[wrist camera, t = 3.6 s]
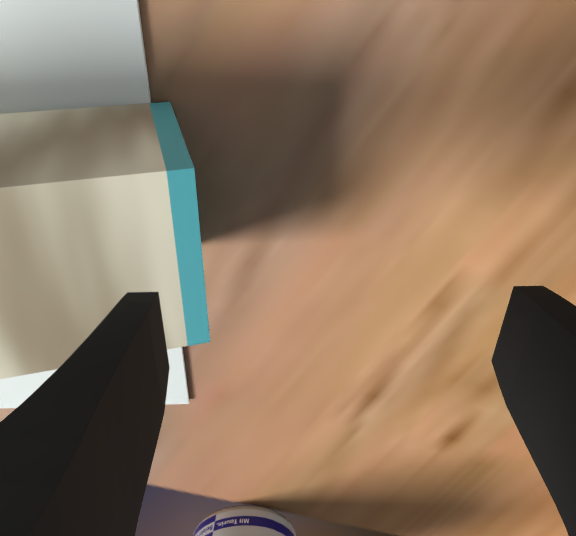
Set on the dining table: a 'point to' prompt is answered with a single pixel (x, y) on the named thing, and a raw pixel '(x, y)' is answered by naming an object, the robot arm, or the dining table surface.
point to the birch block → (94, 228)
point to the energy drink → (245, 523)
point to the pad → (74, 95)
